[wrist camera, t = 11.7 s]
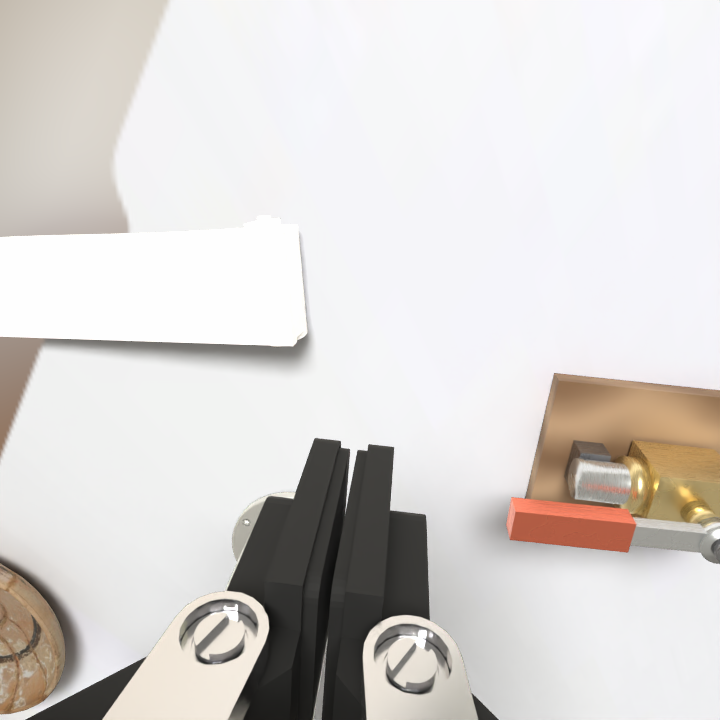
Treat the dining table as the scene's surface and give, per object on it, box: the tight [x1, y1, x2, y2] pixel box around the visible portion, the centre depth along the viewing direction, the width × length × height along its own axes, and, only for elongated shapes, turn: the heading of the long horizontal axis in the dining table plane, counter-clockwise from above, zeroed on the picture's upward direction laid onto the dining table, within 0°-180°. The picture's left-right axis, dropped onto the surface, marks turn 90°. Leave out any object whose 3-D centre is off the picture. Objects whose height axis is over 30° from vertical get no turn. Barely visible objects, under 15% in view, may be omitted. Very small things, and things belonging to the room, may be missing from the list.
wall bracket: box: [0, 216, 307, 347], centre depth 43 cm, size 10×7×28 cm
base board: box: [525, 373, 720, 508], centre depth 45 cm, size 14×20×2 cm
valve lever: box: [506, 497, 720, 564], centre depth 36 cm, size 15×3×2 cm, turn 87°
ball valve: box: [564, 440, 720, 524], centre depth 40 cm, size 5×16×8 cm, turn 86°
